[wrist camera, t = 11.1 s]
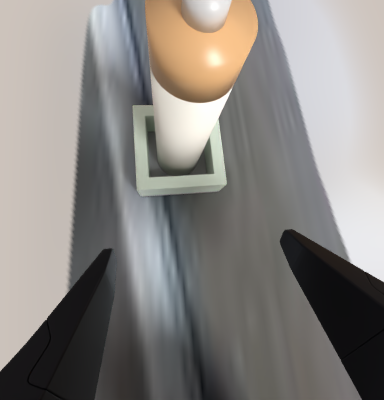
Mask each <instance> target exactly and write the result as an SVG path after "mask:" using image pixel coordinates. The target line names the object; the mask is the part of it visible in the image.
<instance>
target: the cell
mask: <svg viewBox="0 0 384 400" xmlns="http://www.w3.org/2000/svg"><path fill="white" fill-rule="evenodd" d="M145 12H146V24H147V36H148V48H149V60H150V73H151V85H152V97H153V109H154V121H155V134H156V146H157V158H158V163H159V165H160V167H161V168H162V170H163V171H164V172H166V173H167V174H169V175H172V176H185V175H187V174H189V173H190V172H192V171H193V169H194V168H195V166H196V164H197V162H198V160H199V158H200V156H201V154H202V151H203V149H204V147H205V145H206V143H207V141H208V139H209V137H210V134H211V132H212V130H213V128H214V126H215V124H216V122H217V120H218V117H219V115H220V113H221V111H222V109H223V107H224V105H225V103H226V100H227V98H228V96H229V94H230V92H231V90H232V88H233V86H234V83H235V81H236V79H237V77H238V75H239V73H240V71H241V69H242V66H243V64H244V62H245V60H246V58H247V56H248V54H249V52H250V49H251V47H252V45H253V43H254V41H255V38H256V36H257V31H258V19H257V15H256V11H255V9H254V6H253V4H252V2H251V1H250V0H146V1H145Z"/></svg>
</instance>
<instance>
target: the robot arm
mask: <svg viewBox="0 0 384 400" xmlns="http://www.w3.org/2000/svg"><path fill="white" fill-rule="evenodd" d="M280 244H281V247H282V249H283V252H284V254H285V256H286V259H287V261H288V263H289V266H290V268H291V270H292V272H293V274H294V276H295V278H296V279H297V281H298V283H299V285H300V287H301V289H302V290H303V292H304V294H305V296H306V298H307V299H308V301H309V303H310V305H311V307H312V309H313V310H314V312H315V314H316V316H317V318H318V320H319V321H320V323H321V325H322V327H323V329H324V331H325V332H326V334H327V336H328V338H329V340H330V341H331V343H332V345H333V347H334V349H335V351H336V352H337V354H338V356H339V358H340V359H341V362H342V364H343V365H344V367H345V369H346V371H347V373H348V375H349V376H350V378H351V380H352V382H353V384H354V386H355V387H356V389H357V391H358V393H359V395H360V396H361V398H362V400H384V282H382V281H381V280H379V279H377V278H375V277H373V276H372V275H370V274H369V273H367V272H364V271H363V270H361V269H360V268H358V267H356V266H355V265H353V264H351V263H350V262H348V261H346V260H344V259H343V258H341V257H339V256H338V255H336V254H334V253H332V252H331V251H329V250H327V249H326V248H324V247H322V246H320V245H319V244H317V243H315V242H314V241H312V240H310V239H308V238H307V237H305V236H303V235H302V234H300V233H298V232H296V231H295V230H293V229H288V230H284V232H283V234H282V237H281V239H280ZM116 267H117V260H116V256H115V253H114V250H113V249H112V248H109V249H104V250H102V252H101V253H100V254H99V255H98V257H97V258H96V259H95V260H94V261H93V263H92V264H91V265H90V266H89V268H88V269H87V270H86V271H85V272H84V274H83V275H82V276H81V277H80V279H79V280H78V281H77V282H76V283H75V285H74V286H73V287H72V288H71V290H70V291H69V292H68V293H67V294H66V296H65V297H64V298H63V299H62V301H61V302H60V303H59V304H58V306H57V307H56V308H55V309H54V310H53V312H52V313H51V314H50V315H49V316H48V318H47V320H45V321H44V322H43V324H42V325H41V326H40V327H39V329H38V330H37V331H36V332H35V334H34V335H33V336H32V337H31V338H30V339H29V340H28V342H27V343H26V344H25V345H24V346H23V347H22V348H21V350H20V351H19V352H18V353H17V354H16V355H15V356H14V357H13V358H12V359H11V360H10V362H9V363H8V364H7V365H6V366H5V367H4V368H3V369H2V370H1V371H0V400H94V398H95V393H96V388H97V382H98V377H99V372H100V367H101V362H102V356H103V351H104V346H105V341H106V336H107V331H108V325H109V320H110V315H111V310H112V305H113V299H114V293H115V280H116Z"/></svg>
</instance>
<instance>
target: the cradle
mask: <svg viewBox="0 0 384 400" xmlns="http://www.w3.org/2000/svg"><path fill="white" fill-rule="evenodd" d="M132 107H133V126H134V145H135V164H136V184H137V191H138V193H139V194H140V196H141V197H149V196H163V195H178V194H192V193H207V192H218V191H219V190H221V189H222V188H223V187H224V186H225V185H227V182H226V174H225V166H224V159H223V151H222V143H221V135H220V128H219V120H217V122H216V124H215V126H214V128H213V130H212V132H211V134H210V137H209V139H208V141H207V143H206V145H205V147H204V149H203V151H202V154H201V156H200V158H199V160H198V162H197V164H196V166H195V168H194V169H193V171H192V172H190V173H189V174H187V175H185V176H172V175H169V174H167V173H166V172H164V171H163V170H162V168H161V167H160V165H159V163H158V158H157V146H156V134H155V121H154V109H153V105H132Z"/></svg>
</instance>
